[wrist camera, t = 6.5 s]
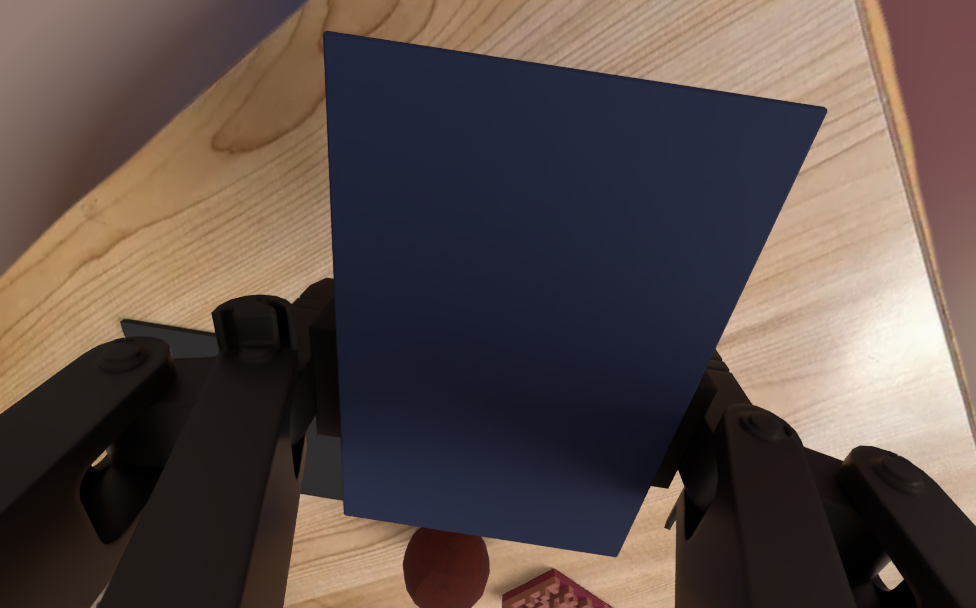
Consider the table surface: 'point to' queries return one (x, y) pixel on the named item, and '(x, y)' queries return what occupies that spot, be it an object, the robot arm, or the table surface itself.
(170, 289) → the table surface
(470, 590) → the dark red ball
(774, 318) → the table surface
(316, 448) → the mat
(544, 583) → the chocolate bar
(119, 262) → the table surface
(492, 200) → the navy block
